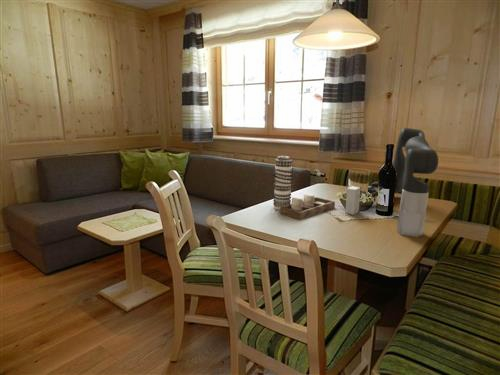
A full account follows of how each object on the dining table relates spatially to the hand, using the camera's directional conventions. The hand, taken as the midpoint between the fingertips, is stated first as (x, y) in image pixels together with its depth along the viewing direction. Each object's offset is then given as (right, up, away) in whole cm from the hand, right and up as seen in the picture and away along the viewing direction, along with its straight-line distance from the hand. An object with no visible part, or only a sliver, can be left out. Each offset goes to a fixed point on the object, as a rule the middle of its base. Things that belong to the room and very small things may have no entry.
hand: (364, 193), depth 162 cm
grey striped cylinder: (-40, -7, +1) cm, 41 cm away
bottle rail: (-28, -8, -4) cm, 30 cm away
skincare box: (-8, -9, -6) cm, 13 cm away
